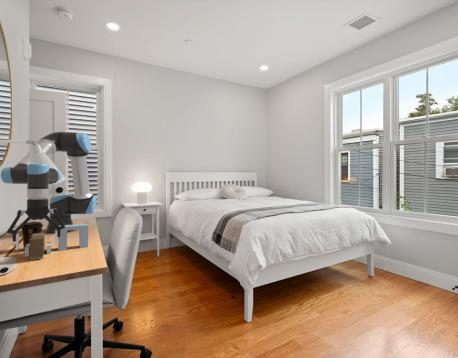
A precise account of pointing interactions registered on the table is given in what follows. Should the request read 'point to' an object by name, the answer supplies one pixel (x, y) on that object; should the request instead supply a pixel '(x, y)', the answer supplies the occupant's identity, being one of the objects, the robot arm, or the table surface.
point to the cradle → (27, 253)
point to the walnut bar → (37, 245)
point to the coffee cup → (30, 231)
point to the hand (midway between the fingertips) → (37, 246)
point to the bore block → (82, 236)
